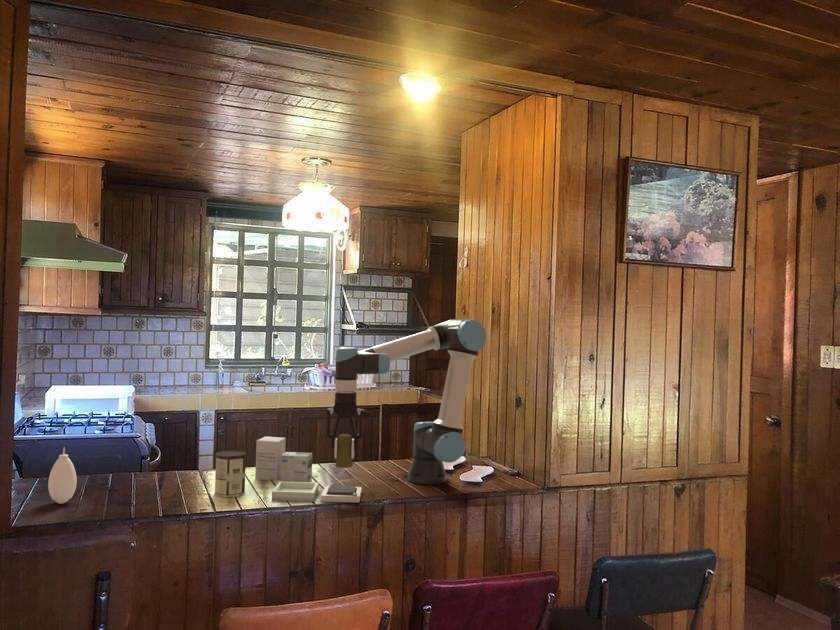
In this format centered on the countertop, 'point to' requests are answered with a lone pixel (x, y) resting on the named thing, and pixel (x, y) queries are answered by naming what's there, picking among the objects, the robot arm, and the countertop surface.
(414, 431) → the robot arm
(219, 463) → the coffee can
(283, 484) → the sorting tray
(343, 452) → the cork
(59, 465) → the bulb syringe
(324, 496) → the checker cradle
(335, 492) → the dark grey square slab
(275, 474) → the supplement box
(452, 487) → the countertop surface
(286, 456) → the light bulb box
